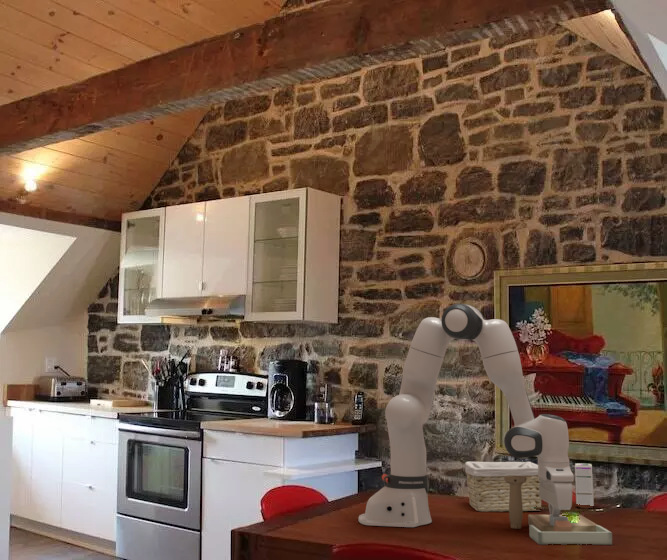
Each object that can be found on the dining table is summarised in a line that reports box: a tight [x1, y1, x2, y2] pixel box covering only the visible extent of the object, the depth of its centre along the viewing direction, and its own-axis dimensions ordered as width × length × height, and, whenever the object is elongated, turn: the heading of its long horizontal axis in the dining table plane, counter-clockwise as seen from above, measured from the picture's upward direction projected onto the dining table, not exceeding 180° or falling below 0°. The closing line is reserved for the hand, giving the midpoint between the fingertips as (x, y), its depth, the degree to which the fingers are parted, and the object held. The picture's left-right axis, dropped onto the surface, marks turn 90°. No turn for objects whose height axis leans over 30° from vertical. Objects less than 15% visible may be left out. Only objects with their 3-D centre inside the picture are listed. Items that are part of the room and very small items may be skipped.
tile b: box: [549, 516, 568, 526], centre depth 225 cm, size 4×4×2 cm
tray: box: [528, 524, 613, 546], centre depth 220 cm, size 20×10×3 cm, turn 91°
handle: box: [504, 475, 526, 530], centre depth 237 cm, size 5×6×15 cm
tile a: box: [553, 521, 572, 532], centre depth 221 cm, size 4×4×2 cm
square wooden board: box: [527, 514, 598, 532], centre depth 234 cm, size 16×16×3 cm
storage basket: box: [464, 461, 543, 513], centre depth 269 cm, size 24×16×15 cm
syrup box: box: [574, 462, 595, 507], centre depth 271 cm, size 6×6×14 cm
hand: (554, 520), depth 228 cm, fingers closed
